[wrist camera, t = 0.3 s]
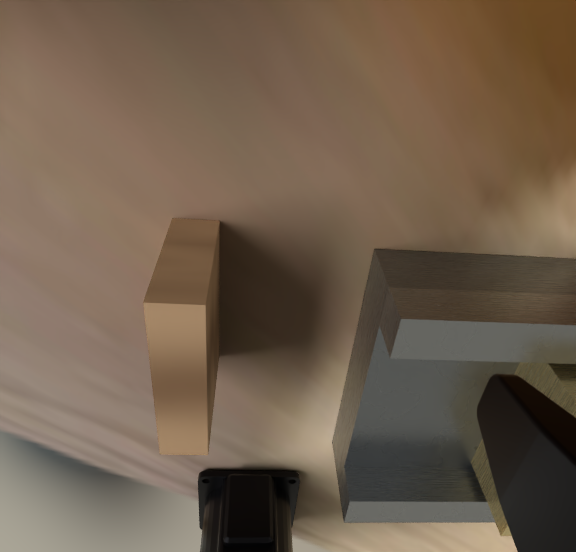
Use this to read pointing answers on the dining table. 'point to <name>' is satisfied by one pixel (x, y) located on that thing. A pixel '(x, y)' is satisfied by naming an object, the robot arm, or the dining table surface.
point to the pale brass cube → (489, 488)
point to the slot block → (439, 375)
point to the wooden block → (184, 335)
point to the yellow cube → (552, 382)
